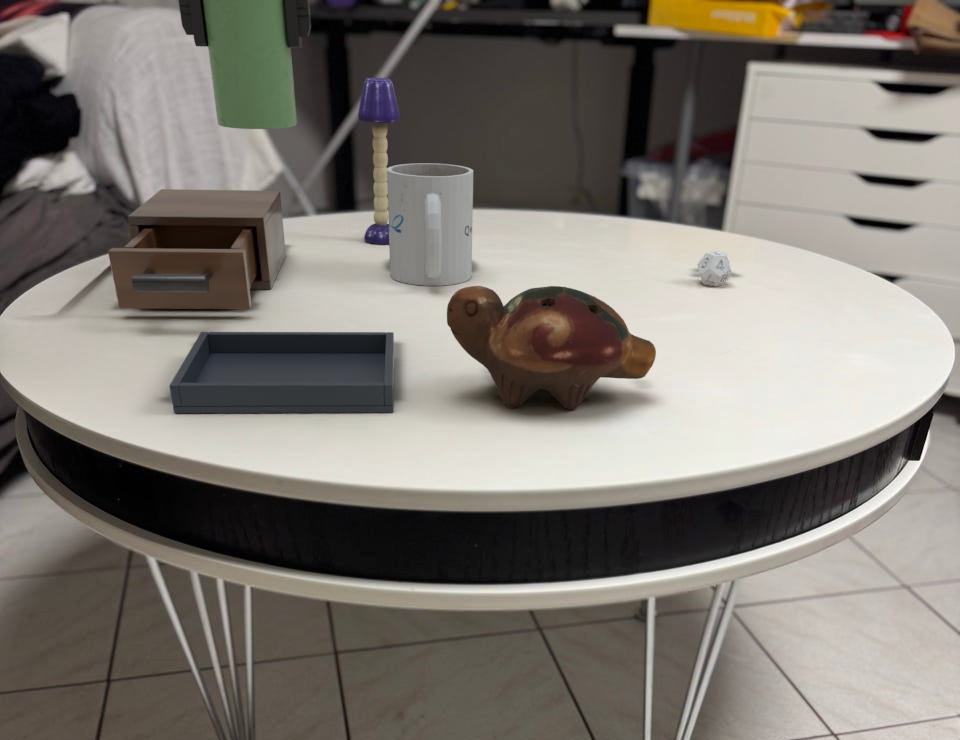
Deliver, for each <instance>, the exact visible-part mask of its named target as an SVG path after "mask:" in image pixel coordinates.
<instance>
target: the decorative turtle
mask: <svg viewBox="0 0 960 740" xmlns="http://www.w3.org/2000/svg"><path fill="white" fill-rule="evenodd" d="M446 307H447V308H446V324H447V326H448V327H449V328H450V331H451V333H452V335H453V337H454V339H455V340H456V341H457V343H458V344H459V346H460V347H461V348H462V349H463V350H464V351H465V352H466V353H467V354H468V355H469V356H470V357H472V358H473V359H474V360H475V361H476V362H478V363H479V364H481V365H482V366H483V367H484V368H485V369H486V370H487V371H488V372H489V374H490V376H491V378H492V380H493V382H494V385H495V387H496V389H497V392H498V395H499V398H500V399H501V401H502V402H503V404H504V405H505V406H507V407H508V408H510V409H512V408H513V409H515V408H518V407H520V406H521V405H522V404H523V403H524V402H526V401H527V400H528V399H529V398H531V396H533V395H534V394H535V393H536V392H537V391H539V390H545V391H547V392H549V393H550V394H551V395H552V396H553V397H554V398H555V400H556V401H557V402H558V403H559V404H560V405H561V406H562V407H563V408H565V409H567V410H569V411H572V410H575V409H577V408H578V407H580V406H581V405H582V404H583V402H584V401H585V399H586V398H587V396H588V394H589V393H590V391H591V390H592V388H593V386H594V385H595V384H596V383H597V381H598V380H599V379H601V378H605V379H607V378H608V379H626V380H639V379H643V378H645V377H646V375H647V374H648V373H649V371H650V370H651V368H652V367H653V365H654V363H655V360H656V356H657V350H656V346H655V344H654V343H653V342H652V341H650V340H648V339H645V338H643V337H640V336H636V335H635V334H632V333H631V332H630V330H629V328H628V326H627V324H626V322H625V320H624V319H623V317H621V315H620V314H619V313H618V312H617V311H616V310H615V309H614V308H613V307H612V306H611V305H609V304H607V303H606V302H605V301H603V300H601V299H599V298H597V297H596V296H594V295H592V294H589V293H586V292H584V291H582V290H579V289H576V288H571V287H567V286H559V285H558V286H557V285H550V286H541V287H532V288H528V289H526V290H524V291H522V292H520V293H518V294H516V295H515V296H514V297H512V298H510V300H508V302H507V303H506V304H503V302H502V300H501V297H500V296H499V294H498V293H496V291H494V290H493V289H491V288H489V287H486V286H484V285H483V286H482V285H470V286H465V287H463V288H460V289H458V290H457V291H455V292H454V294H452V296H451V297H450V299H449V301H448V303H447V306H446Z"/></svg>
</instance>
